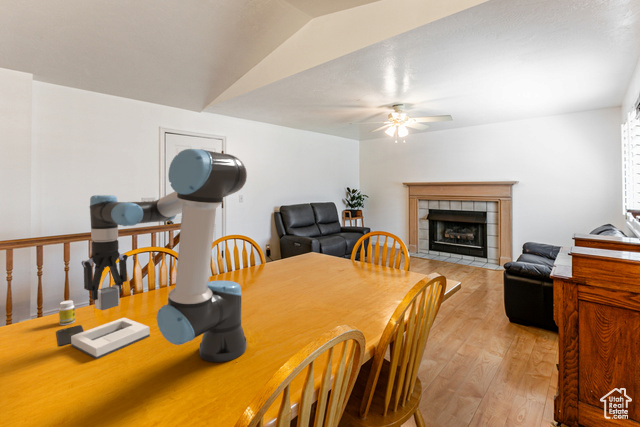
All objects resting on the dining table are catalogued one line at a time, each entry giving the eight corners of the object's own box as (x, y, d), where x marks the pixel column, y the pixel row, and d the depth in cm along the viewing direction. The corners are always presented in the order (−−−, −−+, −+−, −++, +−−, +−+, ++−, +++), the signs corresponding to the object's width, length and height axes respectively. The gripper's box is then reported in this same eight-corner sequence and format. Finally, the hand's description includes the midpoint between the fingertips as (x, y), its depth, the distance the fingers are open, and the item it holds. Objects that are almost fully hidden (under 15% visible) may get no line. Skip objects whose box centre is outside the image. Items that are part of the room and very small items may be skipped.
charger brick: (118, 305, 105) (118, 288, 104) (102, 310, 100) (102, 293, 100) (110, 302, 107) (110, 286, 107) (95, 307, 103) (94, 290, 102)
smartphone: (58, 345, 99) (56, 330, 110) (58, 348, 99) (56, 332, 110) (86, 338, 104) (81, 324, 115) (86, 340, 104) (81, 326, 115)
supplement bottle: (76, 322, 117) (75, 302, 116) (60, 326, 113) (59, 305, 113) (74, 319, 120) (73, 298, 119) (58, 322, 117) (57, 302, 116)
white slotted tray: (149, 336, 107) (149, 326, 107) (96, 359, 92) (96, 348, 92) (124, 326, 115) (124, 317, 114) (71, 346, 100) (71, 335, 99)
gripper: (126, 235, 111) (127, 295, 113) (67, 242, 95) (71, 312, 97) (138, 237, 108) (139, 299, 110) (79, 245, 92) (82, 317, 94)
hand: (107, 305), depth 104 cm, fingers closed on charger brick, 5 cm apart
